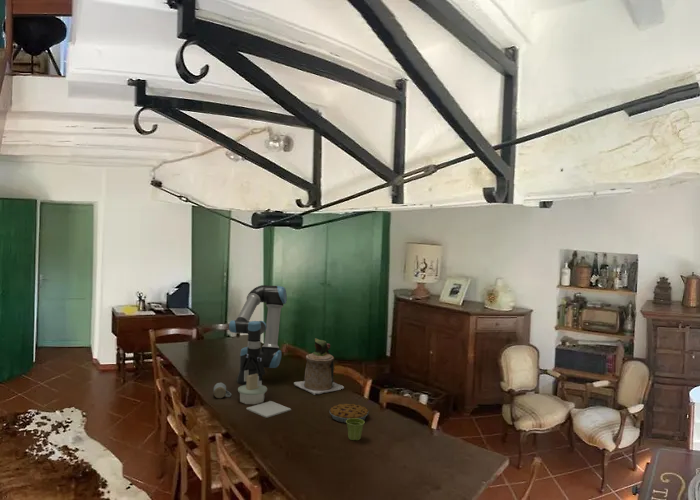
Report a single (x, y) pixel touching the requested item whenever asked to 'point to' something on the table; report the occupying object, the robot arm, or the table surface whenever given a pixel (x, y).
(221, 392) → the ceramic mug
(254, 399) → the bowl
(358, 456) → the table surface
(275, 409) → the mat
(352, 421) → the plant pot
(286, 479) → the table surface
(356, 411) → the pie
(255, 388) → the lid
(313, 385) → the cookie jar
